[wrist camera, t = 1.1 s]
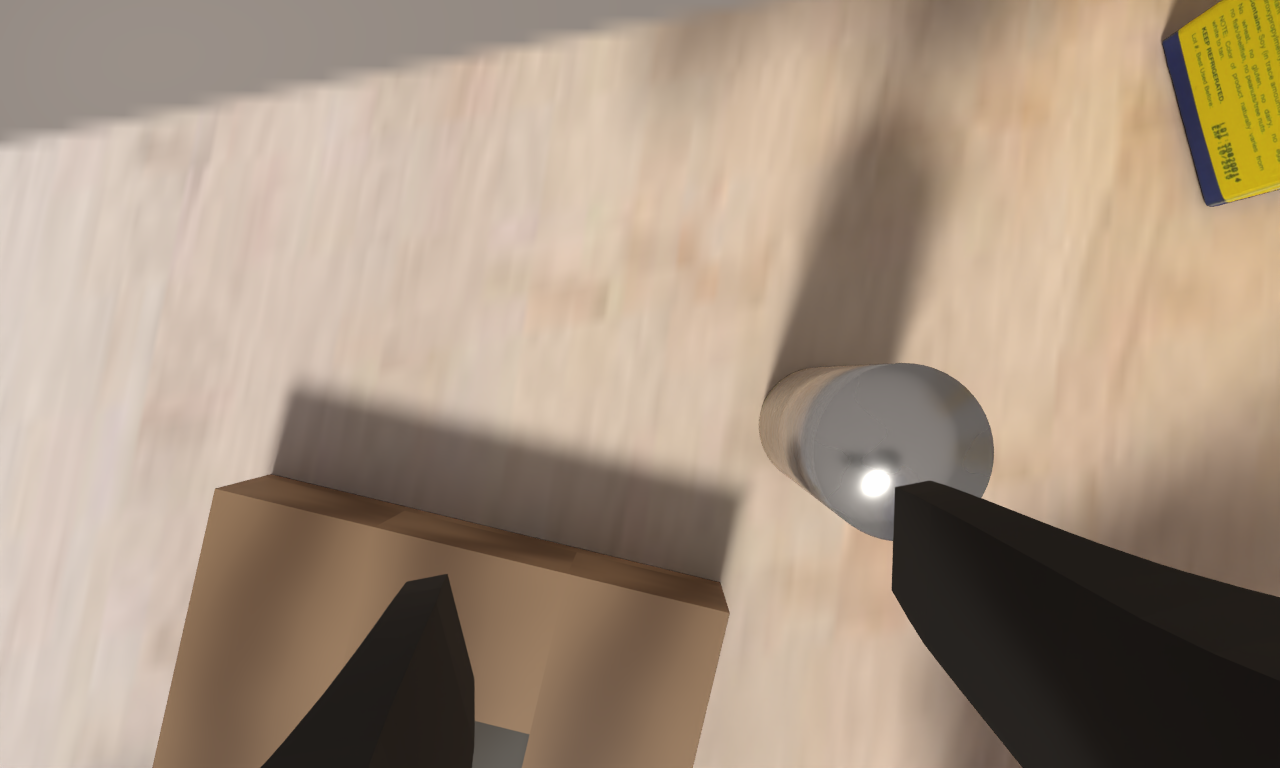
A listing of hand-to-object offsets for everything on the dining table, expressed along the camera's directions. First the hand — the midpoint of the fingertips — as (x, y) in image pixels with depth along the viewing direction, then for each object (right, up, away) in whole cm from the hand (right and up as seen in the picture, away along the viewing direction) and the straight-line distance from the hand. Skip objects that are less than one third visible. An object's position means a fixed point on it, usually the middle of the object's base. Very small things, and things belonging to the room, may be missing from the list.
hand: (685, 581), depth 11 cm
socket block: (-8, -10, +13) cm, 18 cm away
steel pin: (+5, +2, +12) cm, 14 cm away
